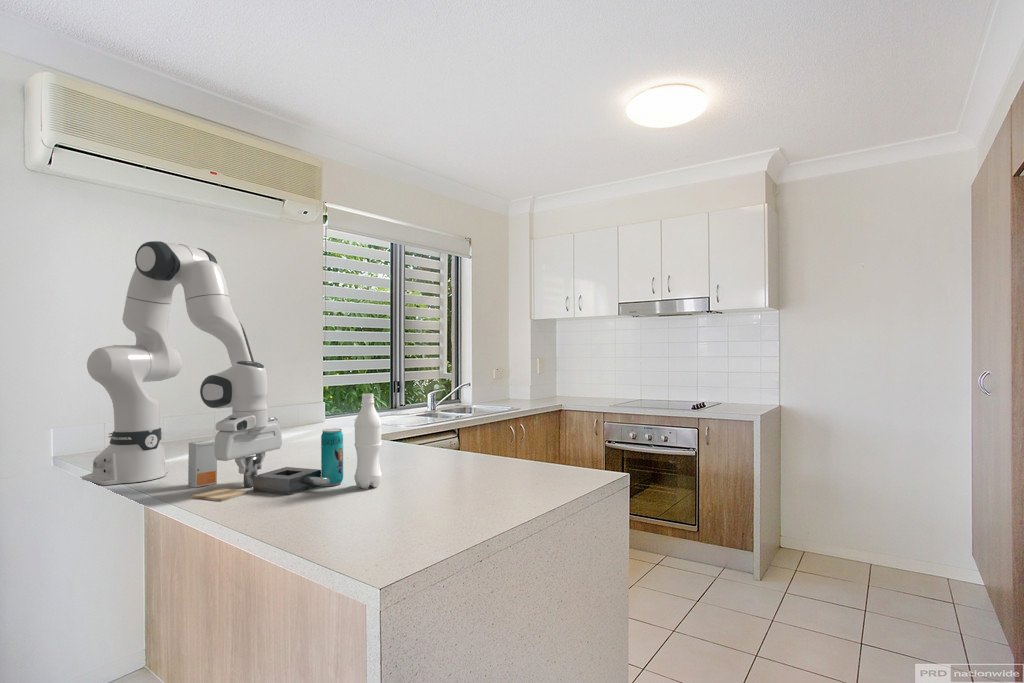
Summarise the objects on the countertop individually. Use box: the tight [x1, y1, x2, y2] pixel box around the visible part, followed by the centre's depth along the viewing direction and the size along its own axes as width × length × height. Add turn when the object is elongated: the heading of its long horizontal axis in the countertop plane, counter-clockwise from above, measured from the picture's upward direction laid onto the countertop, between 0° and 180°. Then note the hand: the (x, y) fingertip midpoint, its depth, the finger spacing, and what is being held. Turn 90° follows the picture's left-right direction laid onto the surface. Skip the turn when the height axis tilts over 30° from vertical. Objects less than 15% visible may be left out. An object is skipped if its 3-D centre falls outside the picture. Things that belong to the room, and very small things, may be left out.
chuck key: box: [243, 455, 261, 489], centre depth 151 cm, size 6×3×8 cm, turn 69°
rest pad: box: [190, 487, 248, 502], centre depth 142 cm, size 10×8×1 cm
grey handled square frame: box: [252, 466, 330, 496], centre depth 148 cm, size 19×12×4 cm, turn 69°
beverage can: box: [320, 427, 344, 487], centre depth 152 cm, size 6×6×15 cm
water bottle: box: [353, 393, 383, 490], centre depth 150 cm, size 7×7×25 cm
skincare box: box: [187, 439, 218, 489], centre depth 153 cm, size 6×4×12 cm
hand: (250, 471), depth 151 cm, fingers closed on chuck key, 3 cm apart
